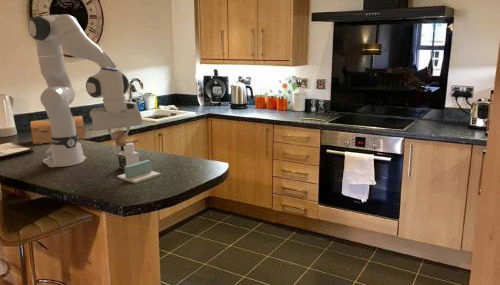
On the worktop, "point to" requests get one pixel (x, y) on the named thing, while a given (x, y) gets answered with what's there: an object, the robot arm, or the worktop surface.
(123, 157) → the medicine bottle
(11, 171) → the worktop surface
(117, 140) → the batten
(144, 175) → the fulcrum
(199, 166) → the worktop surface
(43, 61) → the robot arm
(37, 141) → the wooden box
